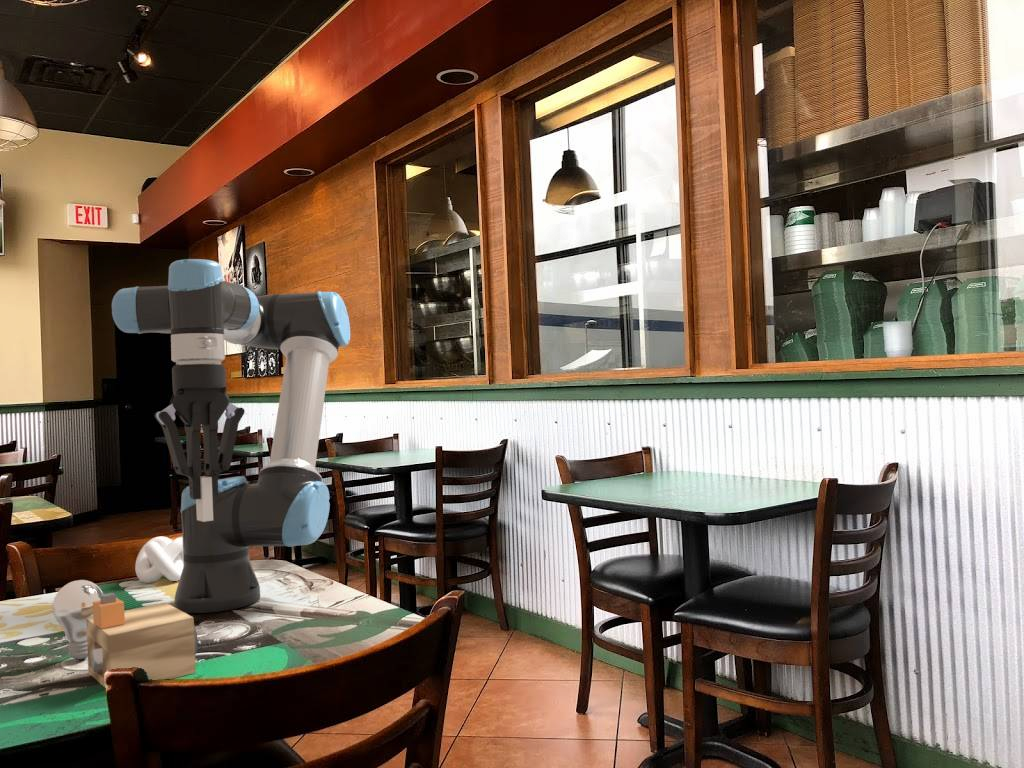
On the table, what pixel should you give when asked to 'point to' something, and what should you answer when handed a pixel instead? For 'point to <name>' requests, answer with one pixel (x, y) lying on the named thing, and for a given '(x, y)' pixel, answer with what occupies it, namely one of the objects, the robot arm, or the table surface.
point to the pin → (98, 656)
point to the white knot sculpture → (160, 560)
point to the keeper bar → (108, 611)
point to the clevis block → (146, 642)
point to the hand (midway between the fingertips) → (205, 520)
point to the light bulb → (76, 614)
